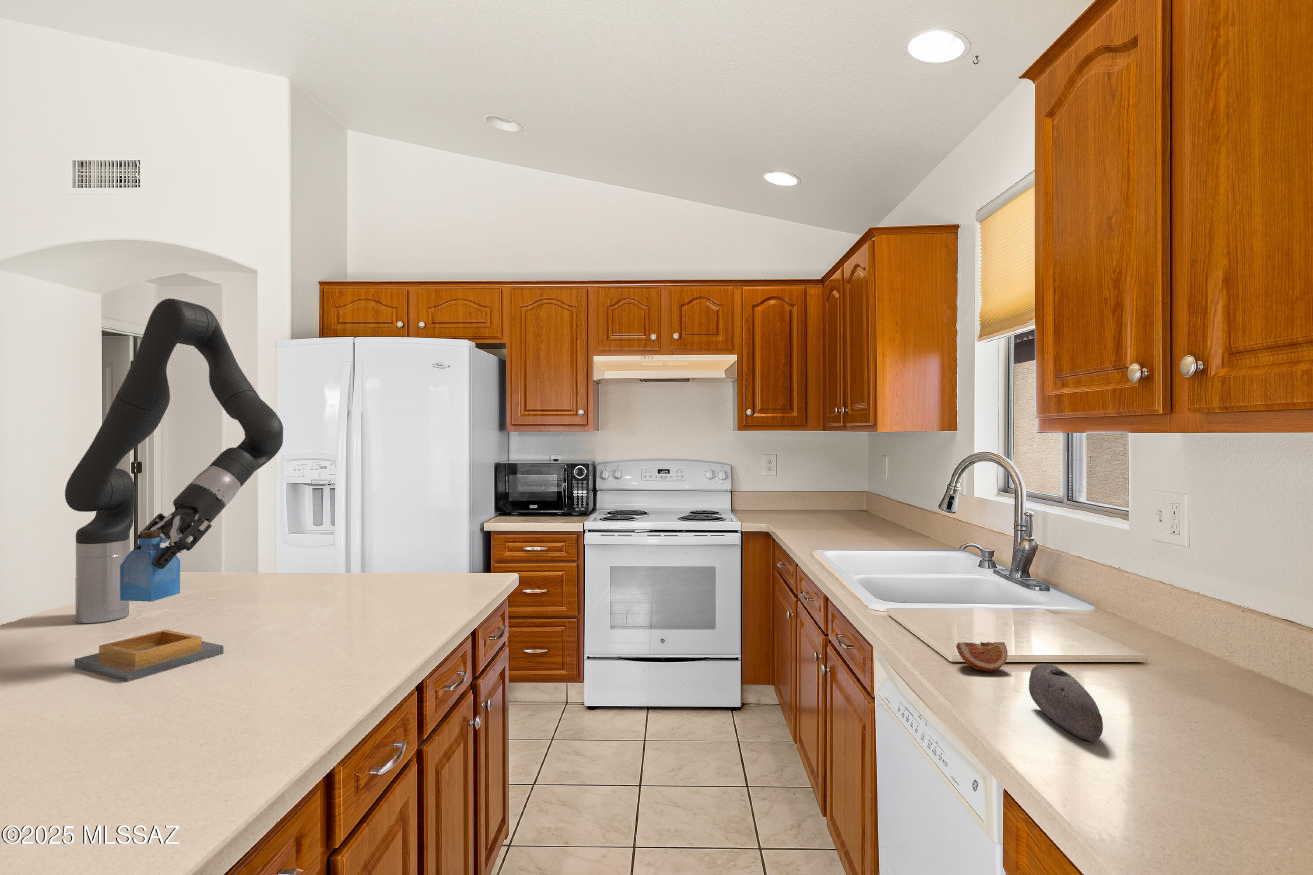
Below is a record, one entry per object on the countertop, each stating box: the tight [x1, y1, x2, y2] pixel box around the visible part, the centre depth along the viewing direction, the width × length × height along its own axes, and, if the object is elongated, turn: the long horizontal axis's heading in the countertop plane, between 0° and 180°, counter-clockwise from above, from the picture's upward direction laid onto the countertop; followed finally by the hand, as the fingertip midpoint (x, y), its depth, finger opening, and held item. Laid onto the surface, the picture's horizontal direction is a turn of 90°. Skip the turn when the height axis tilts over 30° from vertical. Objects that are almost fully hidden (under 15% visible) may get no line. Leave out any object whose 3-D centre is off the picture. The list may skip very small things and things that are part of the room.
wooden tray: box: [74, 629, 224, 683], centre depth 123 cm, size 16×16×4 cm
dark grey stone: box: [1028, 663, 1104, 742], centre depth 97 cm, size 15×5×7 cm, turn 175°
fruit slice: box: [955, 641, 1008, 673], centre depth 121 cm, size 8×7×5 cm
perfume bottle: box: [120, 530, 181, 603], centre depth 123 cm, size 6×6×12 cm
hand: (143, 564), depth 122 cm, fingers closed on perfume bottle, 7 cm apart
